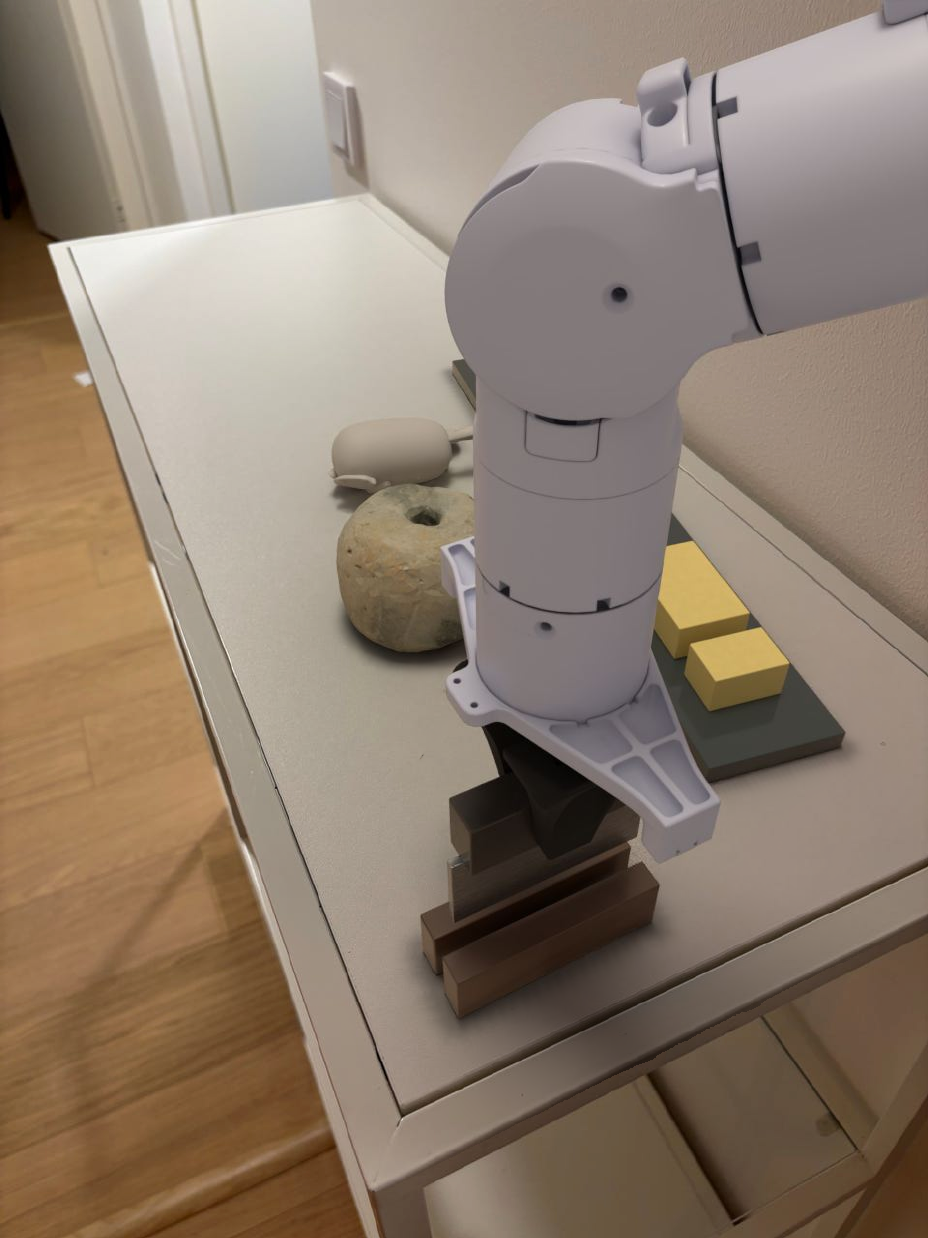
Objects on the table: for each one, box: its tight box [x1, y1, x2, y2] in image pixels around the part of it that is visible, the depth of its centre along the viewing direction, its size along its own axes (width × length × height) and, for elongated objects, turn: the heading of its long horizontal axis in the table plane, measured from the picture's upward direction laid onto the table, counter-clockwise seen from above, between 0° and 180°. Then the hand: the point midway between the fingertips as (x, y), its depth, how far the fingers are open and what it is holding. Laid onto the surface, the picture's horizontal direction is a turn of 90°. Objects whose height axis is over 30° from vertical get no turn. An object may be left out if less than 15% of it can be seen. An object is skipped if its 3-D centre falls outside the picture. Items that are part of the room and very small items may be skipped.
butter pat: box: [684, 626, 790, 711], centre depth 53 cm, size 3×4×2 cm
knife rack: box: [419, 841, 661, 1019], centre depth 43 cm, size 4×10×3 cm, turn 117°
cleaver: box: [446, 771, 641, 923], centre depth 39 cm, size 2×9×7 cm, turn 117°
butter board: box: [451, 358, 847, 783], centre depth 67 cm, size 46×8×1 cm, turn 17°
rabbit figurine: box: [328, 417, 473, 495], centre depth 70 cm, size 6×5×12 cm
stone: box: [335, 483, 474, 654], centre depth 58 cm, size 10×10×10 cm
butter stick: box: [654, 540, 751, 659], centre depth 58 cm, size 7×4×2 cm, turn 17°
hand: (550, 821), depth 39 cm, fingers closed on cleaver, 2 cm apart
